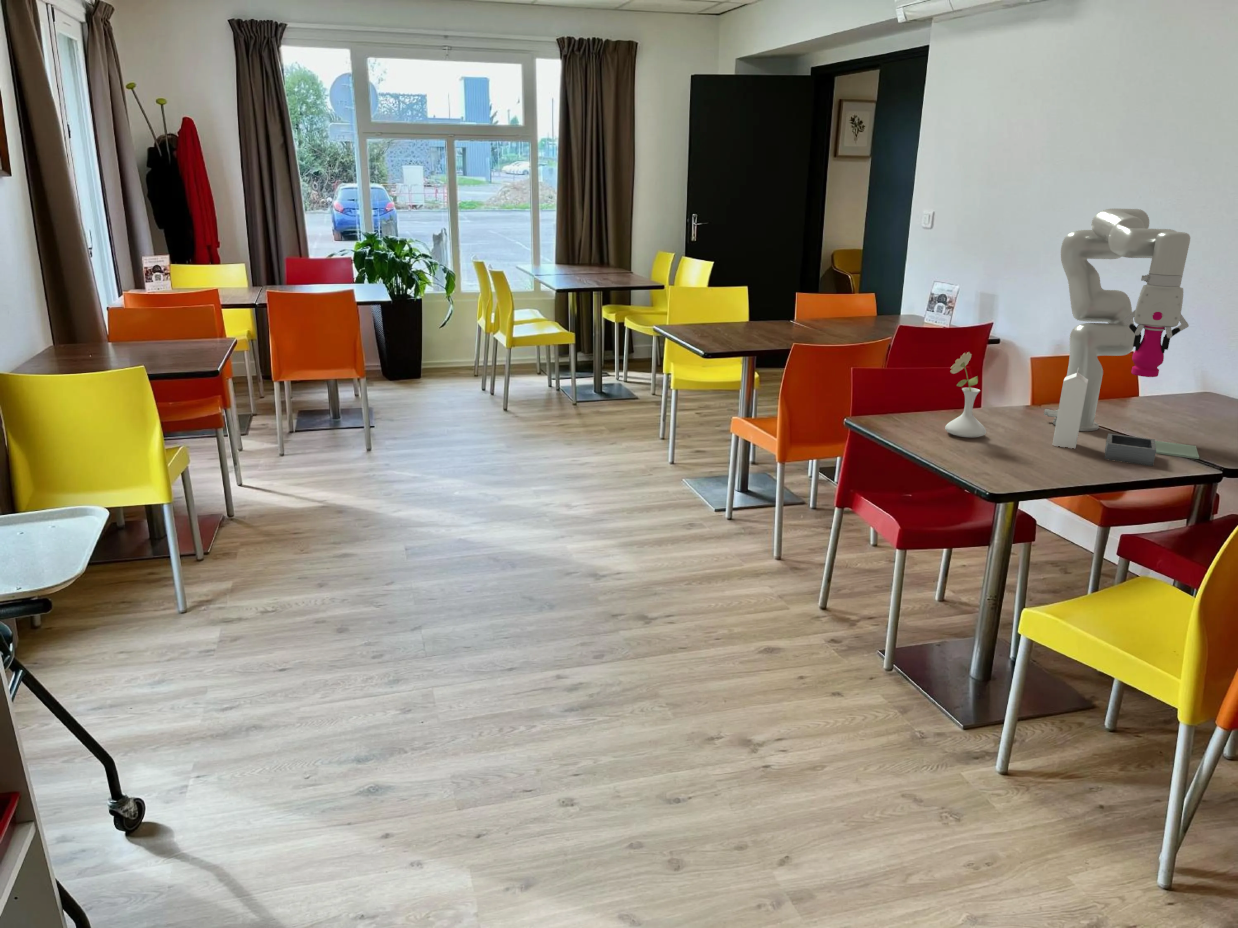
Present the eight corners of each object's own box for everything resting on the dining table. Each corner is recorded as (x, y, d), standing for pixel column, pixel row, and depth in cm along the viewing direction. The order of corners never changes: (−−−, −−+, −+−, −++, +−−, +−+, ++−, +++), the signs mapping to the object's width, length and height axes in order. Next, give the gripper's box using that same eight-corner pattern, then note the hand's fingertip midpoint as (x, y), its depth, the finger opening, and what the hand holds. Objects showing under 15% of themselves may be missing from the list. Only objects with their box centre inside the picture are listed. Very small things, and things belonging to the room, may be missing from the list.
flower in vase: (968, 428, 267) (979, 346, 259) (993, 439, 257) (1007, 354, 249) (931, 431, 263) (942, 348, 256) (956, 442, 253) (968, 356, 245)
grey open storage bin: (1104, 459, 240) (1107, 443, 238) (1105, 448, 249) (1108, 433, 248) (1152, 466, 235) (1156, 450, 233) (1151, 454, 244) (1154, 439, 243)
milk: (1076, 444, 254) (1091, 368, 247) (1075, 449, 249) (1090, 372, 242) (1053, 440, 256) (1066, 366, 249) (1051, 445, 251) (1065, 369, 244)
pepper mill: (1164, 378, 231) (1181, 301, 225) (1134, 376, 232) (1150, 300, 226) (1154, 372, 238) (1170, 297, 231) (1125, 370, 239) (1140, 296, 233)
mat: (1140, 451, 247) (1140, 449, 247) (1139, 440, 257) (1139, 438, 257) (1198, 459, 241) (1199, 457, 241) (1195, 447, 251) (1195, 445, 251)
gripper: (1126, 280, 228) (1112, 350, 234) (1204, 285, 220) (1188, 357, 226) (1126, 277, 234) (1112, 345, 240) (1201, 282, 227) (1186, 352, 232)
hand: (1149, 350), depth 233 cm, fingers closed on pepper mill, 5 cm apart
